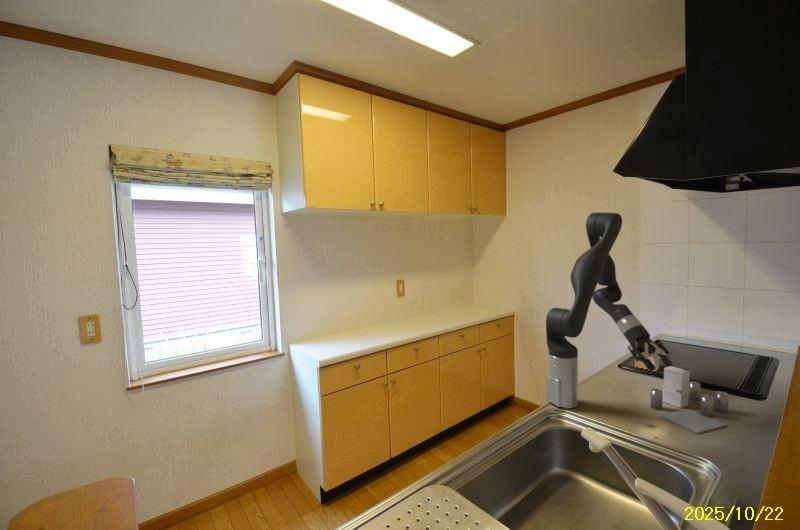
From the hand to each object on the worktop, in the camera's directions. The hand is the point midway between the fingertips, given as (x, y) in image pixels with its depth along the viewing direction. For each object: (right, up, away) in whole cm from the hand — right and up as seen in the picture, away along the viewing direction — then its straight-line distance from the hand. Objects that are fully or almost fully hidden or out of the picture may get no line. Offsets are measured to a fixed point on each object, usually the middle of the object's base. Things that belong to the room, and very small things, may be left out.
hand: (662, 368), depth 129 cm
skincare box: (+2, -11, -4) cm, 12 cm away
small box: (+16, -9, +31) cm, 36 cm away
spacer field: (+3, -11, -9) cm, 15 cm away
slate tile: (-3, -12, -17) cm, 20 cm away
